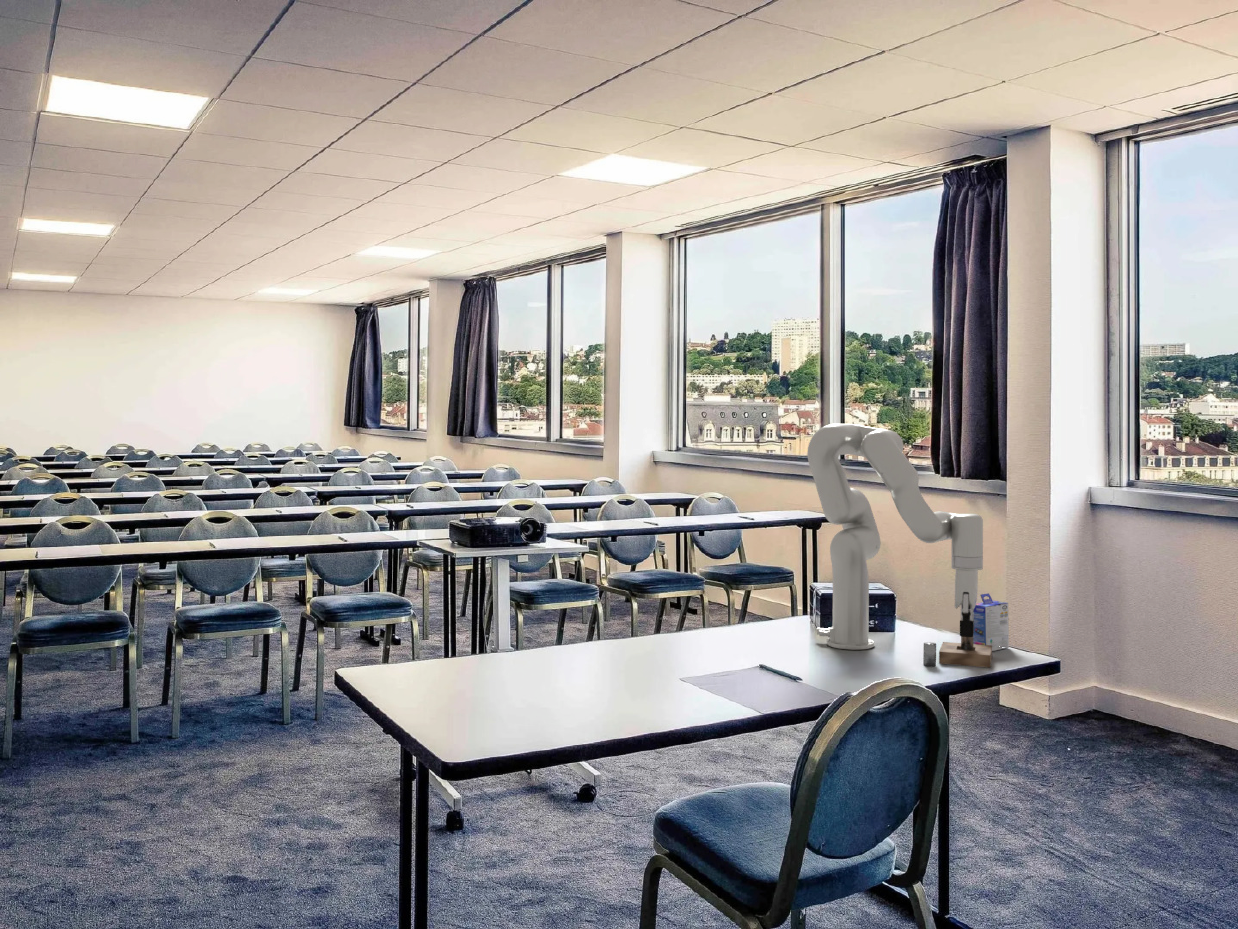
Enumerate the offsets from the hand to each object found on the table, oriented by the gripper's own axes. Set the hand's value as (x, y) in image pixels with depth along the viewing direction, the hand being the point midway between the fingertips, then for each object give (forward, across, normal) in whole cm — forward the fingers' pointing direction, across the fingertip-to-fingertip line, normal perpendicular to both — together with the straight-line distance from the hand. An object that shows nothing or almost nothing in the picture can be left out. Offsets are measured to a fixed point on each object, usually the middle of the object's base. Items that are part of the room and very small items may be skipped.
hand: (967, 634), depth 261 cm
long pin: (+4, 0, 0) cm, 4 cm away
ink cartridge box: (+7, -16, +5) cm, 18 cm away
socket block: (+7, 0, 0) cm, 7 cm away
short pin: (+7, +9, -8) cm, 14 cm away
